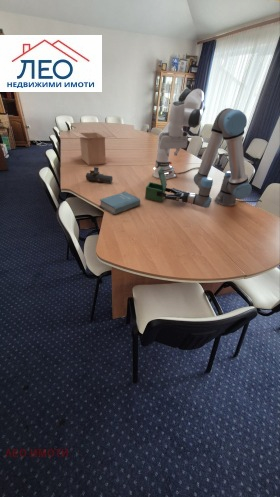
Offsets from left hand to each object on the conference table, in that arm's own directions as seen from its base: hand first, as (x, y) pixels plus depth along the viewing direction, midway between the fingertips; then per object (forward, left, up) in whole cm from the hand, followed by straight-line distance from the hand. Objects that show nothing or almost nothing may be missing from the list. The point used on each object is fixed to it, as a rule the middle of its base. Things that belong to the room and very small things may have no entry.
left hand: (171, 155), depth 147 cm
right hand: (+3, -4, -26) cm, 26 cm away
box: (+21, -112, -32) cm, 119 cm away
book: (+35, -2, -32) cm, 48 cm away
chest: (+5, -6, -32) cm, 33 cm away
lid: (+3, -3, -16) cm, 17 cm away
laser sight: (+34, -52, -32) cm, 70 cm away
